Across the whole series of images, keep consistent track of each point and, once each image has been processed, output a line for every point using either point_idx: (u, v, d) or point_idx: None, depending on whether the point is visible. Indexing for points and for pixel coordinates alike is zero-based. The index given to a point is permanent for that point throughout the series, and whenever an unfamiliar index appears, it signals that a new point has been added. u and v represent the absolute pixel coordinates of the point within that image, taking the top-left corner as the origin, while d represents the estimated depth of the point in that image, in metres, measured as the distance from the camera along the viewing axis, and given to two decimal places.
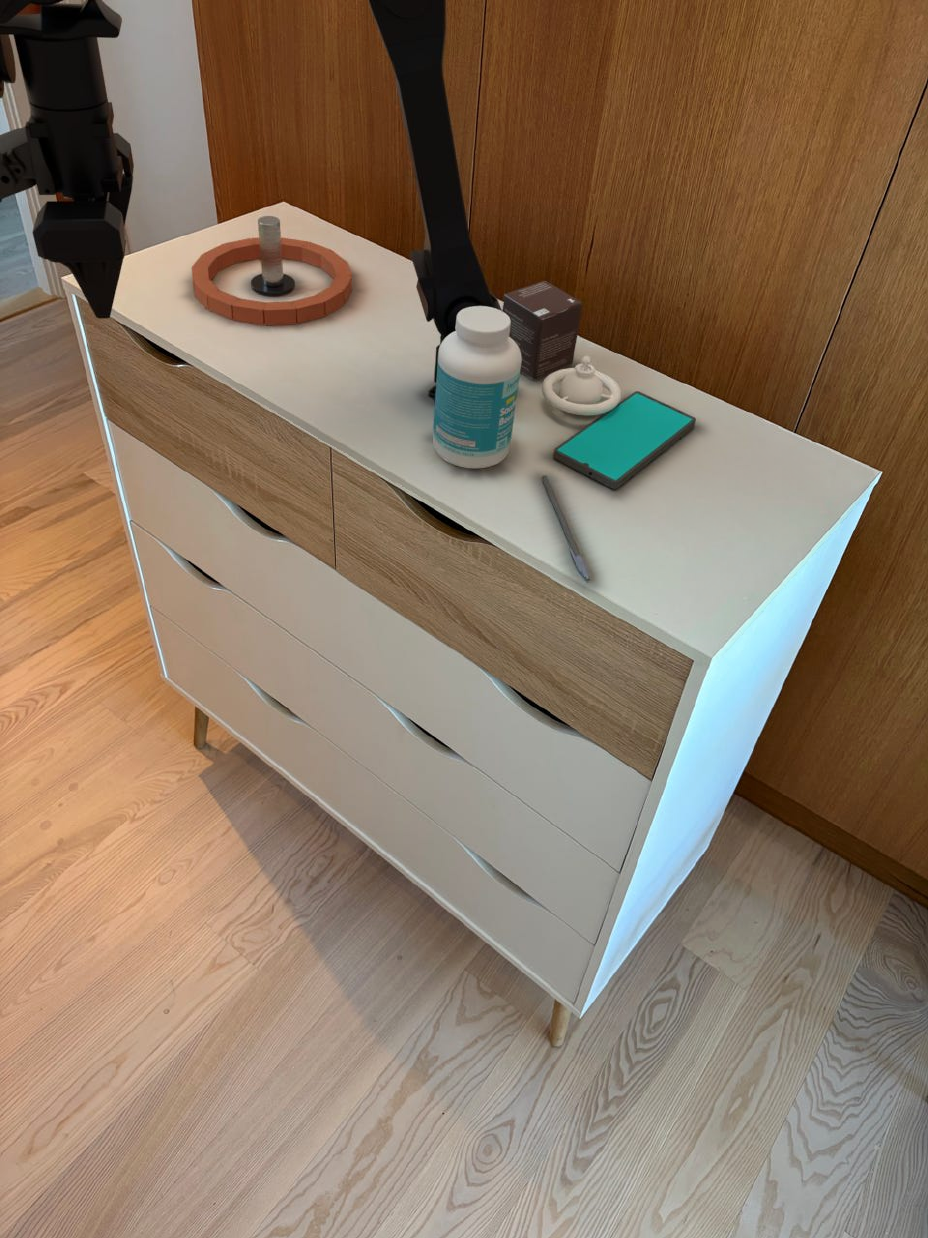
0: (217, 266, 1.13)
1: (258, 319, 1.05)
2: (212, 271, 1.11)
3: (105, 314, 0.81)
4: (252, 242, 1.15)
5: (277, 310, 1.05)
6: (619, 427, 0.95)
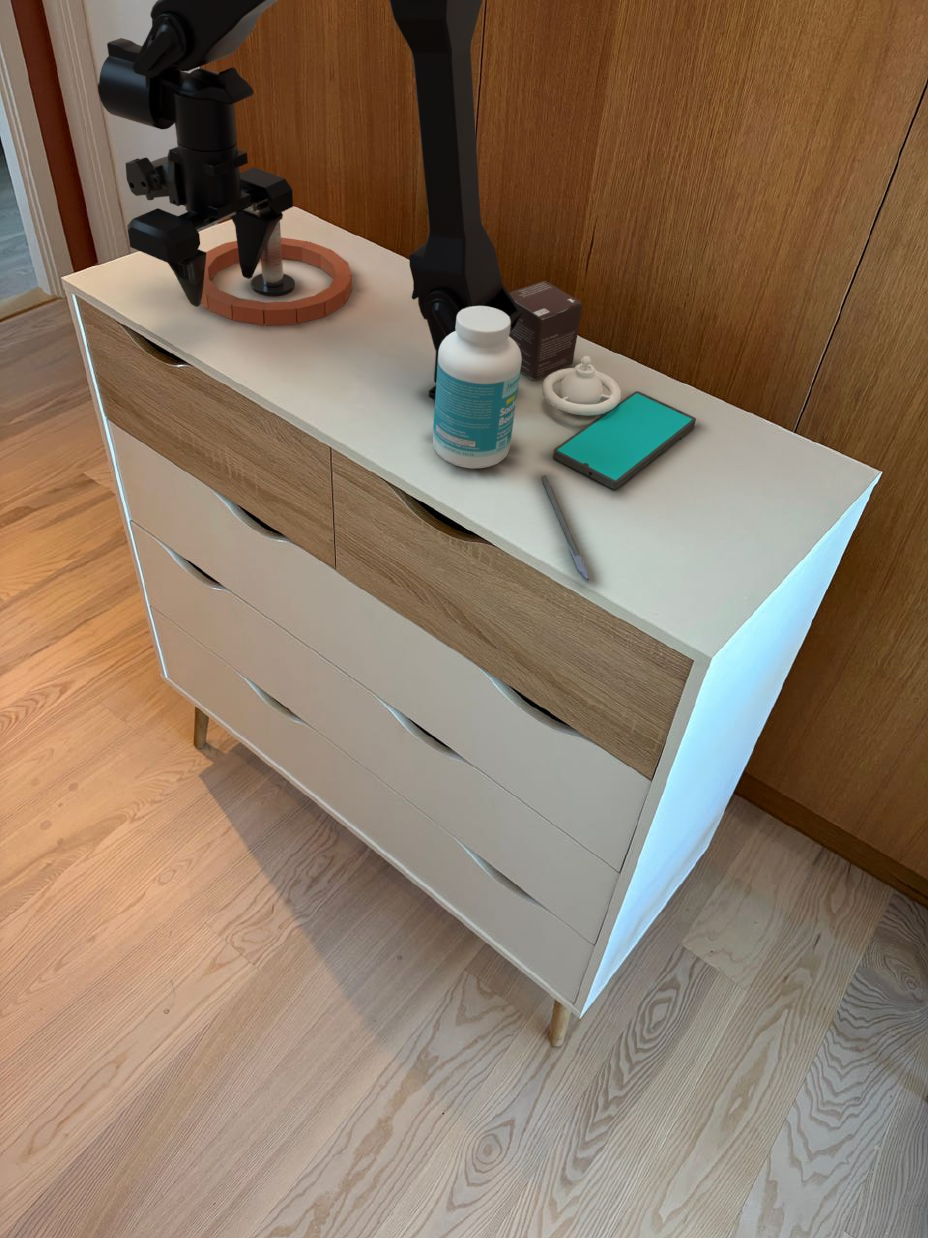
0: (217, 266, 1.13)
1: (258, 319, 1.05)
2: (212, 271, 1.11)
3: (194, 303, 1.02)
4: None
5: (277, 310, 1.05)
6: (619, 427, 0.95)
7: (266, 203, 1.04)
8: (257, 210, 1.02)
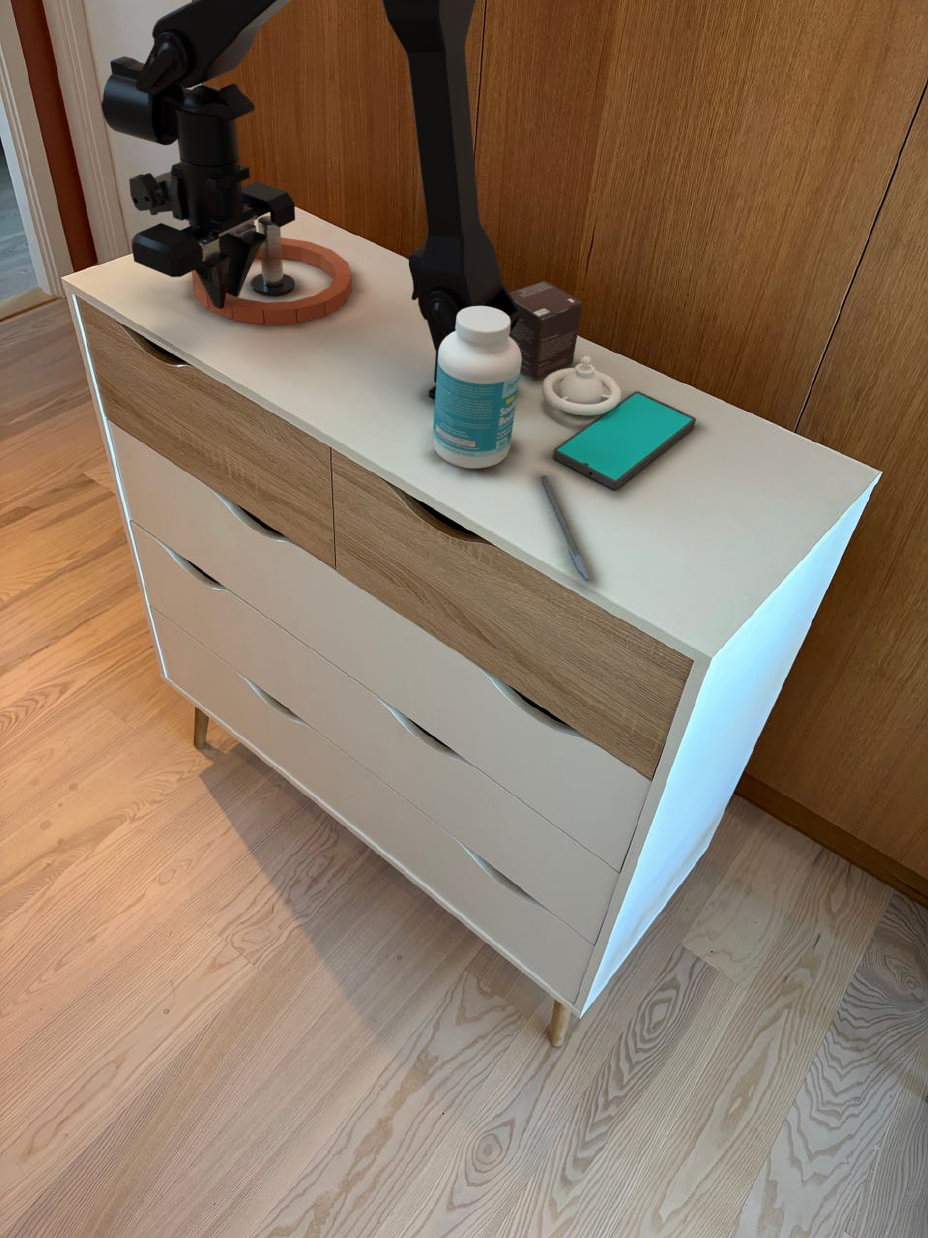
0: None
1: (258, 319, 1.05)
2: None
3: (218, 305, 1.05)
4: None
5: (277, 310, 1.05)
6: (619, 427, 0.95)
7: (250, 226, 1.03)
8: (240, 233, 1.02)
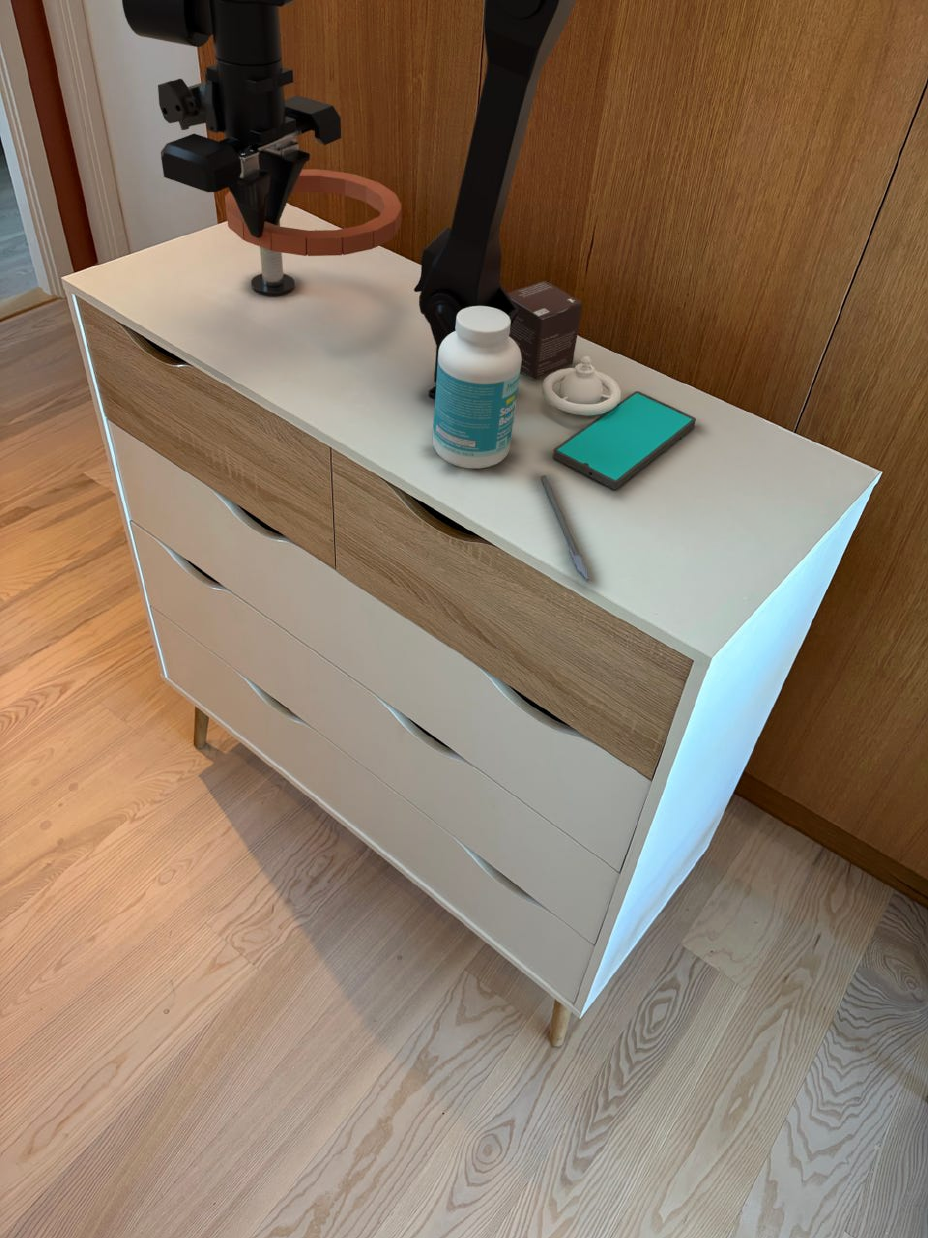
0: None
1: (300, 249, 0.94)
2: None
3: (255, 233, 0.94)
4: None
5: (321, 238, 0.93)
6: (619, 427, 0.95)
7: (291, 142, 0.92)
8: (281, 150, 0.90)
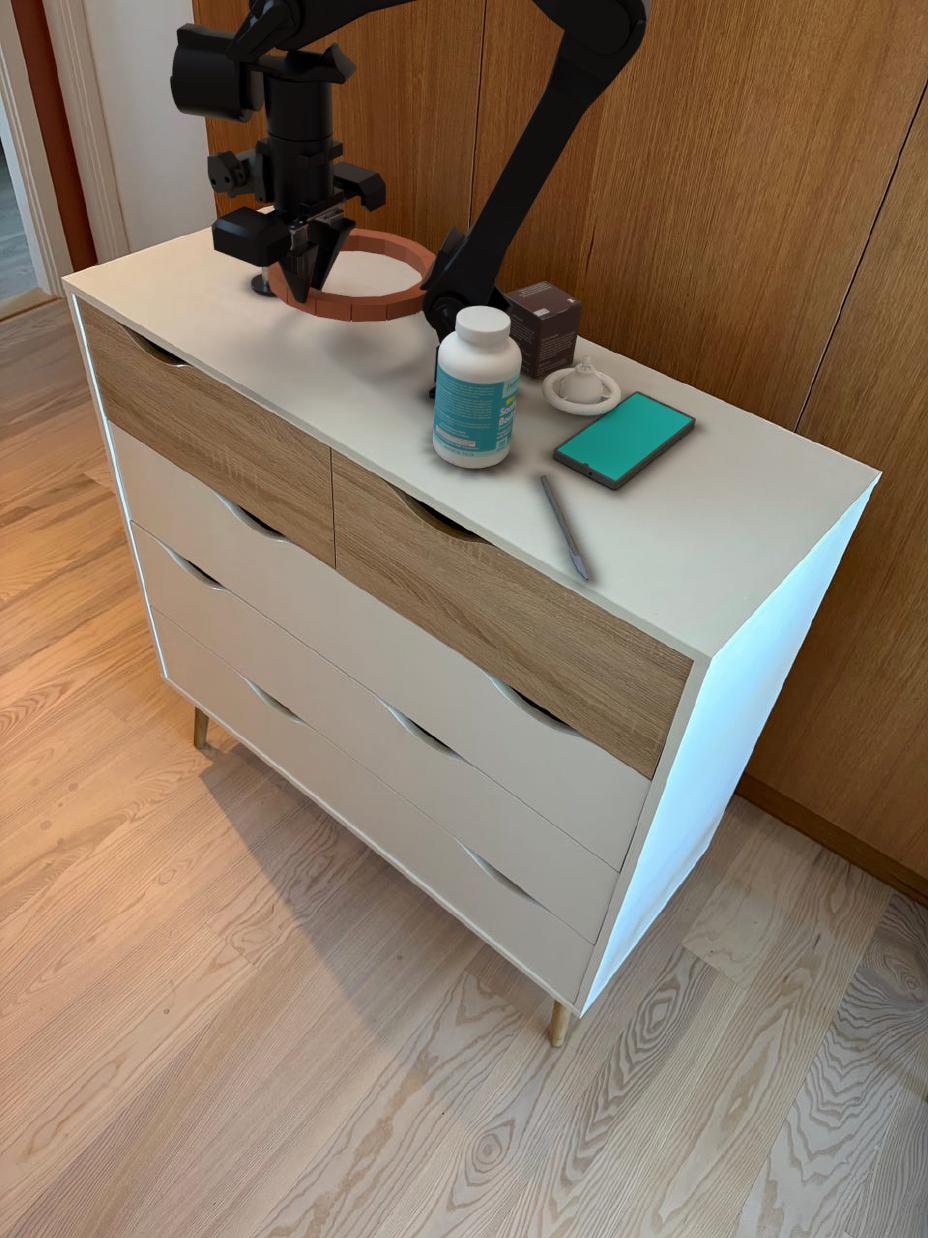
0: None
1: (345, 315, 0.94)
2: None
3: (300, 300, 0.94)
4: None
5: (366, 305, 0.93)
6: (619, 427, 0.95)
7: (337, 210, 0.92)
8: (328, 218, 0.90)
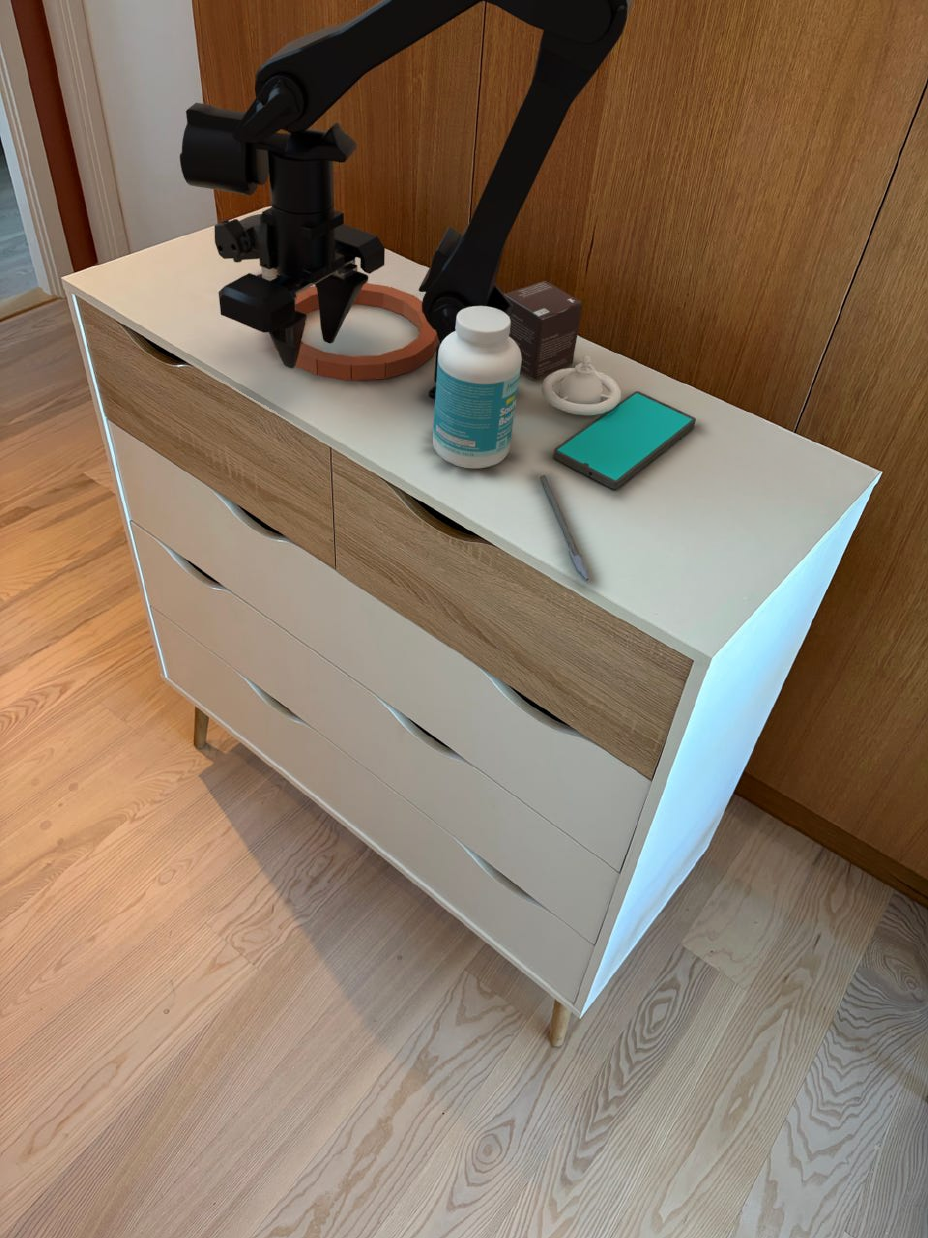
0: None
1: (345, 374, 0.99)
2: None
3: (289, 365, 0.97)
4: None
5: (365, 365, 0.98)
6: (619, 427, 0.95)
7: (351, 265, 0.97)
8: (342, 273, 0.96)
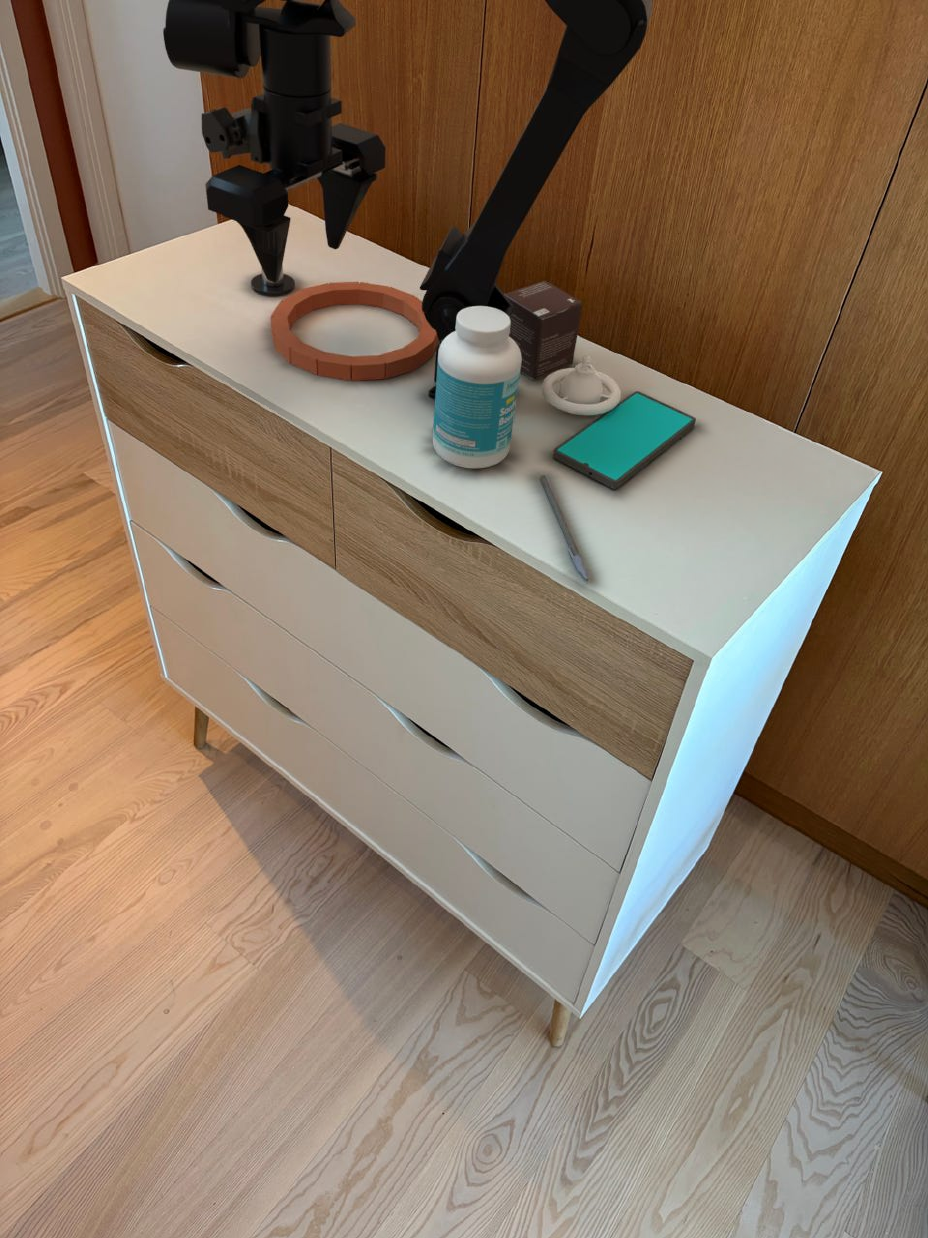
0: (295, 314, 1.06)
1: (345, 374, 0.99)
2: (291, 320, 1.05)
3: (272, 278, 0.89)
4: (330, 288, 1.09)
5: (365, 365, 0.98)
6: (619, 427, 0.95)
7: (358, 162, 0.91)
8: (349, 169, 0.90)
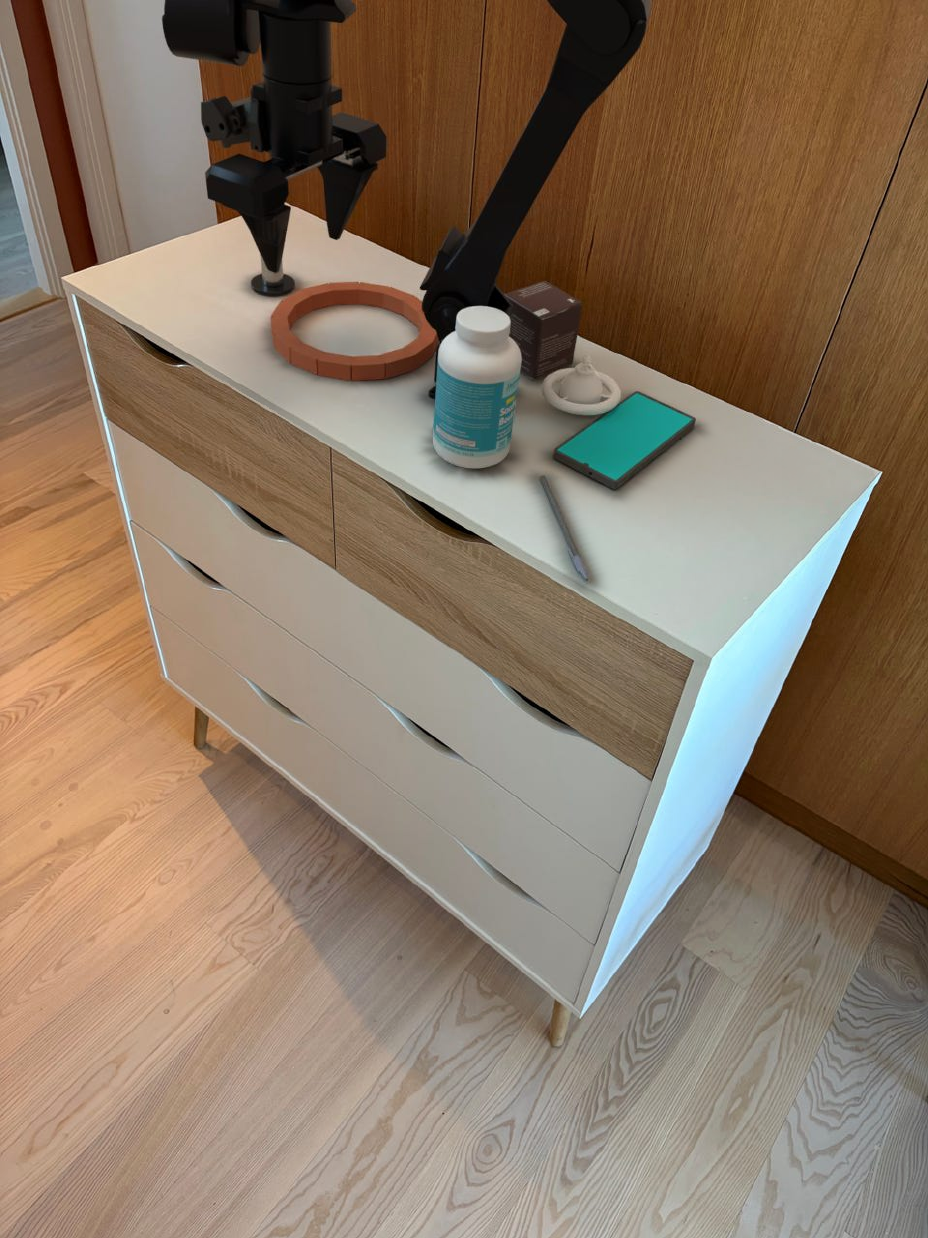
0: (295, 314, 1.06)
1: (345, 374, 0.99)
2: (291, 320, 1.05)
3: (272, 268, 0.88)
4: (330, 288, 1.09)
5: (365, 365, 0.98)
6: (619, 427, 0.95)
7: (359, 151, 0.91)
8: (350, 159, 0.90)
